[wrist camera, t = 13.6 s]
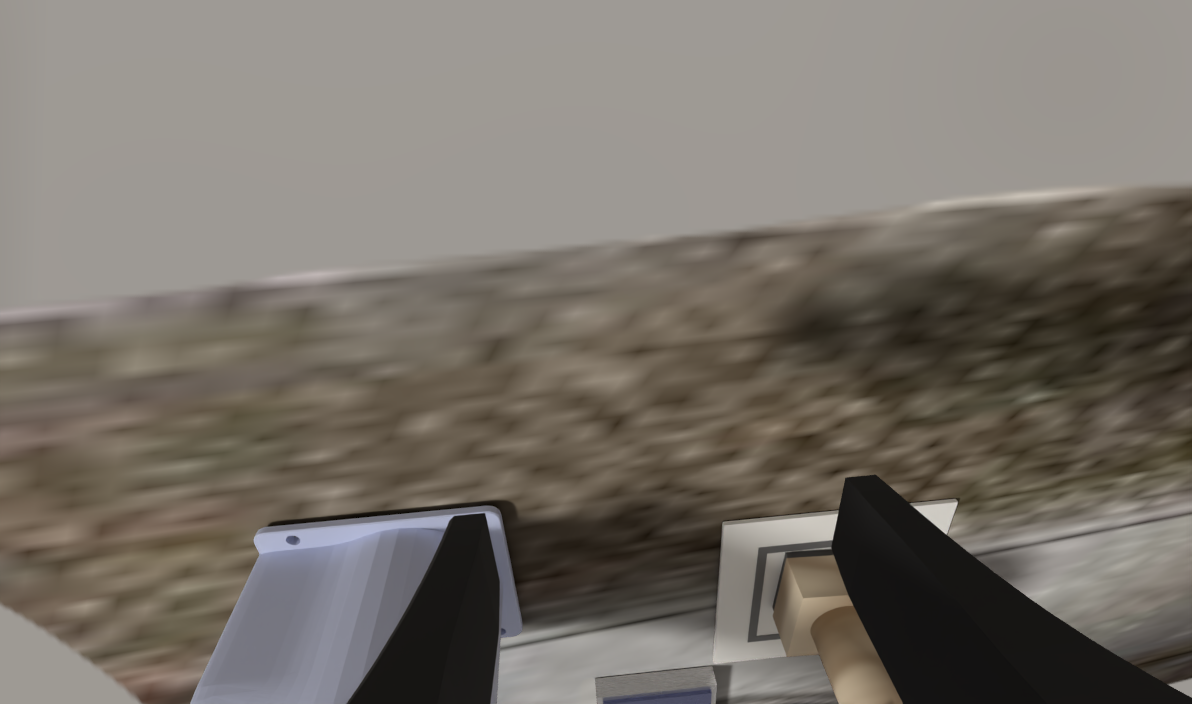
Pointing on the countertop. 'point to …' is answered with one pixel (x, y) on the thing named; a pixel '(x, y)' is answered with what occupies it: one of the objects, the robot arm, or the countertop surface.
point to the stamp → (829, 628)
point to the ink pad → (659, 687)
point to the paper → (773, 574)
